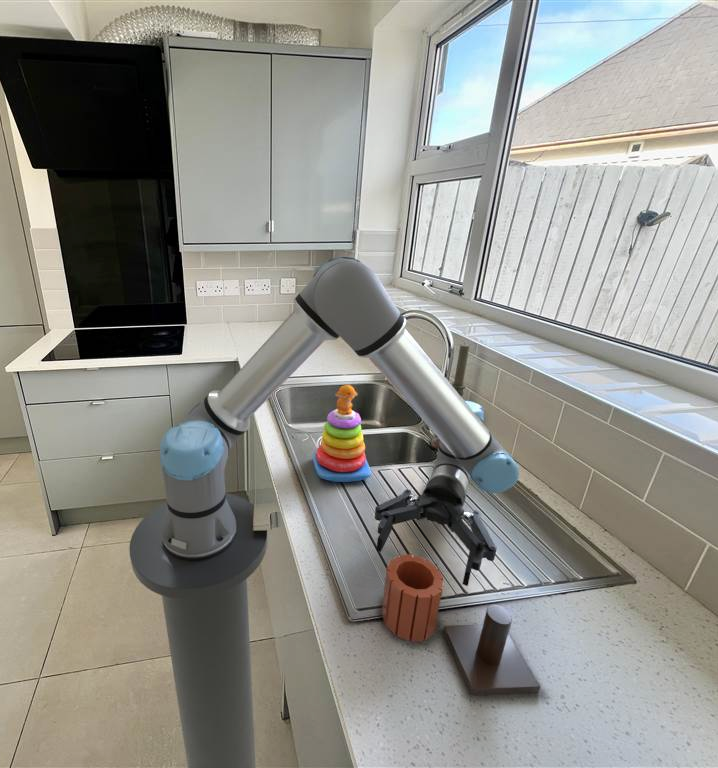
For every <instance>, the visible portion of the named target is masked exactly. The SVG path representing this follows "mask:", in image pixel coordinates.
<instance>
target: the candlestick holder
mask: <svg viewBox="0 0 718 768" xmlns="http://www.w3.org/2000/svg"><path fill="white" fill-rule="evenodd" d="M469 351H470V344H468V343H467V344H466V343H465V342H463V343H461V344H460V345H459V350H458V357H457V362H456V370H455V375H454V381H453V382H450V384H451V385H452V386H453V388H454V389H455V390H456V391H457V393H458V394H459V395H460V396H461V397H463V396H464V394H465V389H466V388H467V385H466V384H465V383H464V381H465V375H466V370H467V363H468V357H469ZM439 443H440V439H439V438H438V437H437V436H436V437H434V438H432V439H431V440H430V446H431V447H432V448H433V449H434V450H436V451H437V452H438V448H439Z"/></svg>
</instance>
